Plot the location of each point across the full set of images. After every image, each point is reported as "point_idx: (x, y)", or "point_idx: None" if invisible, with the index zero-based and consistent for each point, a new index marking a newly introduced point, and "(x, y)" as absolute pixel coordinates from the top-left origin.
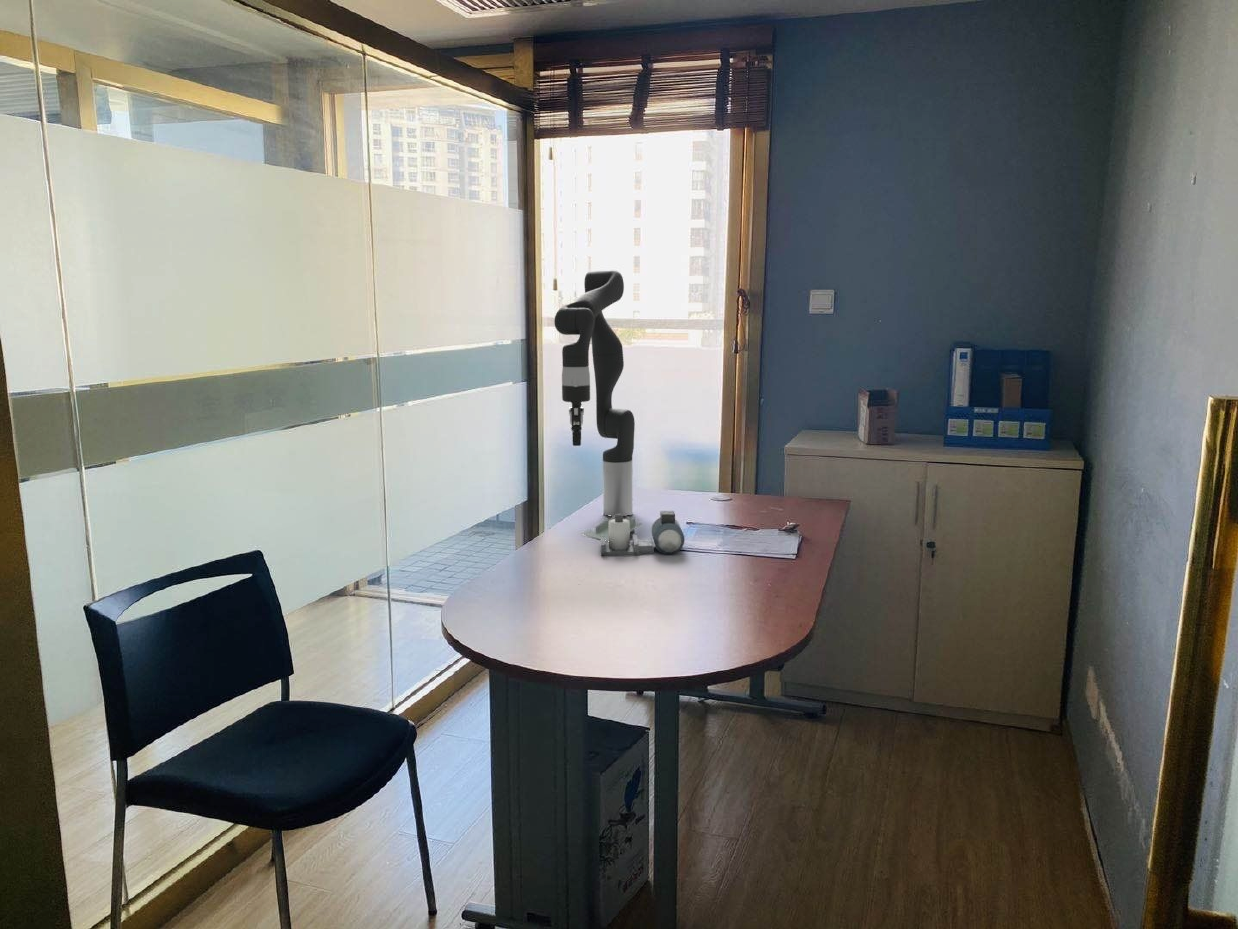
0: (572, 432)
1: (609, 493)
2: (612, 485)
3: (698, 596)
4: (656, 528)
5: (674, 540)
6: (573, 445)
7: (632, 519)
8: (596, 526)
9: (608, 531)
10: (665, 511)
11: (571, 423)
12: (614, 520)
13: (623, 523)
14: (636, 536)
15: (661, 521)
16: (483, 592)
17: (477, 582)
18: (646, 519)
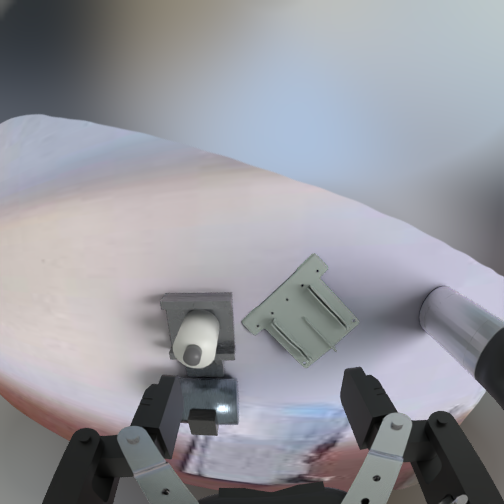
0: (142, 424)
1: (449, 314)
2: (454, 328)
3: (45, 377)
4: (189, 397)
5: None
6: (164, 375)
7: (306, 359)
8: (312, 289)
9: (303, 308)
10: (212, 426)
11: (146, 470)
12: (200, 343)
13: (177, 357)
14: (221, 359)
15: (191, 411)
16: (19, 142)
17: (47, 119)
18: (397, 354)
